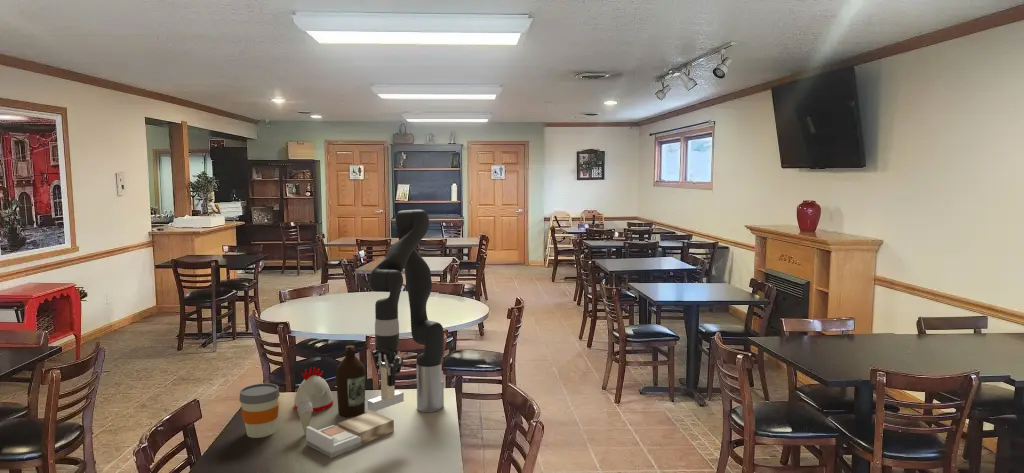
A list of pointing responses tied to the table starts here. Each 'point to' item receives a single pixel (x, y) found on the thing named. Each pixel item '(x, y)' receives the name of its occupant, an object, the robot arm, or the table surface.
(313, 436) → the box
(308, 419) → the ice cream cone
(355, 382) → the brown rum bottle
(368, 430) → the tan flat block
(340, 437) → the offwhite tile
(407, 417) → the table surface
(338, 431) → the terracotta tile
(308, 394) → the kitchen timer
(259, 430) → the reusable coffee cup
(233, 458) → the table surface
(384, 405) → the scraper
